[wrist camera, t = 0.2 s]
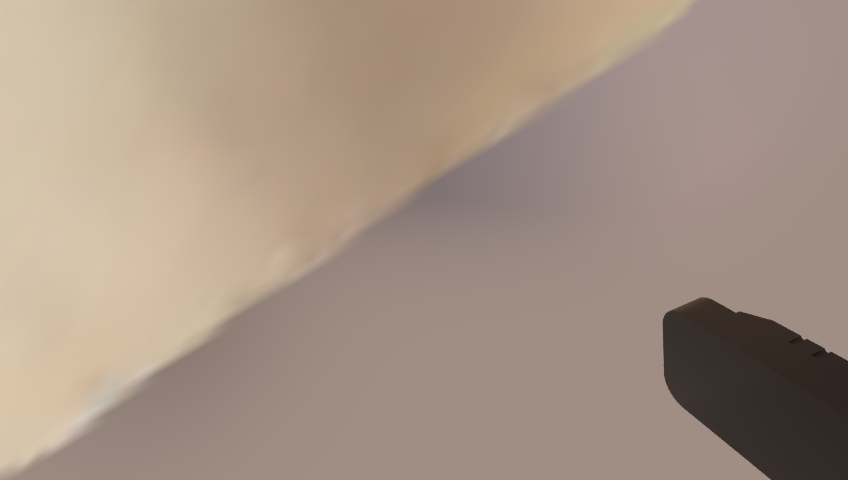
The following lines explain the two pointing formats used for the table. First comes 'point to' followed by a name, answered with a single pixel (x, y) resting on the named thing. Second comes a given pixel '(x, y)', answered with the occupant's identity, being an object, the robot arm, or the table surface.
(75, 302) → the table surface
